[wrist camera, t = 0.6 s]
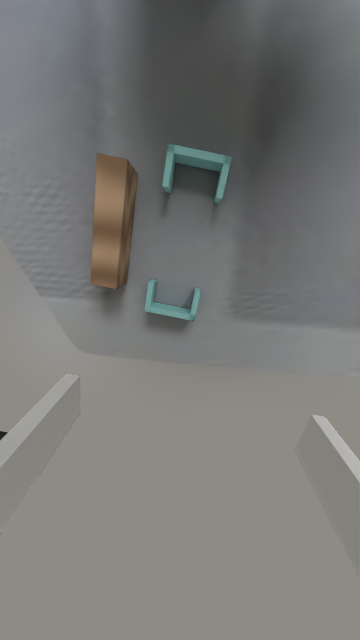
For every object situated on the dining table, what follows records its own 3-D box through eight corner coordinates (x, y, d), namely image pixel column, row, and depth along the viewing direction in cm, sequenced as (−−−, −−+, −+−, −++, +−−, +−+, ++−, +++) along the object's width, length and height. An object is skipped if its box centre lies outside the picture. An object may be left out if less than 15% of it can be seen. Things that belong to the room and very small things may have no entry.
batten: (112, 169, 28) (96, 153, 24) (138, 174, 29) (127, 159, 24) (105, 278, 33) (90, 284, 29) (126, 283, 33) (116, 289, 29)
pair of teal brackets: (170, 154, 27) (168, 143, 25) (227, 166, 27) (231, 156, 25) (148, 305, 34) (144, 311, 31) (194, 315, 34) (194, 321, 31)
